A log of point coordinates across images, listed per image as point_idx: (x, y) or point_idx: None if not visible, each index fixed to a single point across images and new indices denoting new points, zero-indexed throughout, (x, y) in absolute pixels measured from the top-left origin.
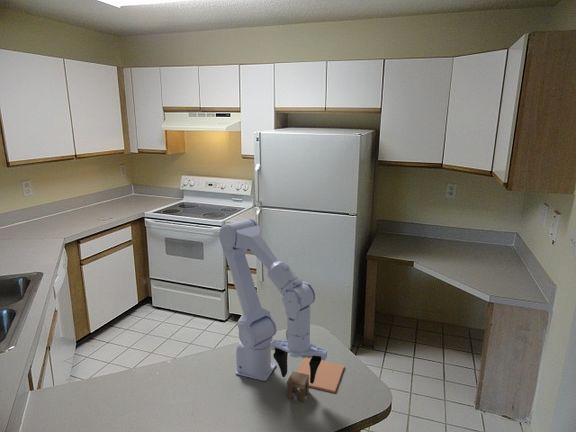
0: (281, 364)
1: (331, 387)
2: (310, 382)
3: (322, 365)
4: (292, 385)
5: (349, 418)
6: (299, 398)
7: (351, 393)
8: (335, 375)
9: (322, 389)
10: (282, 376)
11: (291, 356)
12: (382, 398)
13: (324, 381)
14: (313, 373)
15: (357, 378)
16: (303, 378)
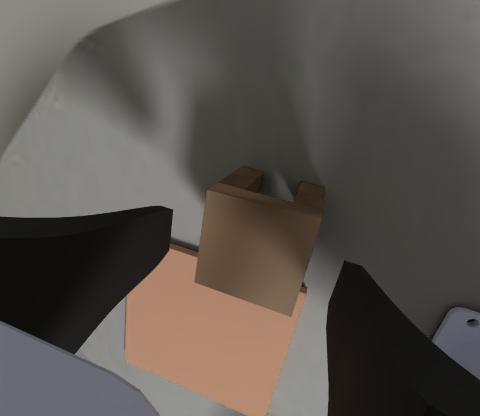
0: (390, 331)
1: None
2: (167, 208)
3: (193, 370)
4: (285, 203)
5: (63, 95)
6: (259, 174)
7: None
8: (142, 316)
9: (177, 246)
10: (360, 267)
11: (109, 373)
12: (4, 211)
13: (173, 286)
14: (89, 218)
15: None
16: (219, 252)
